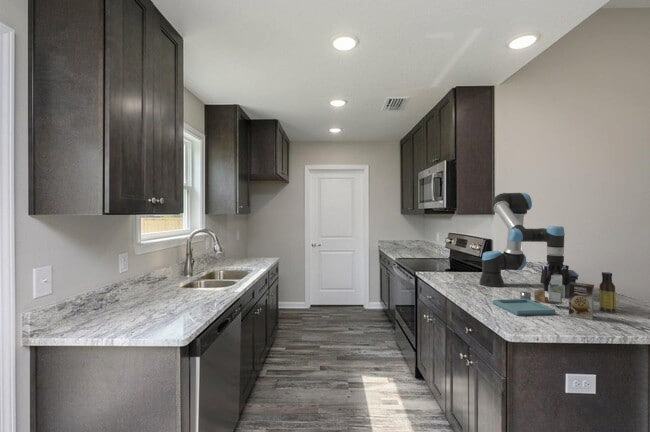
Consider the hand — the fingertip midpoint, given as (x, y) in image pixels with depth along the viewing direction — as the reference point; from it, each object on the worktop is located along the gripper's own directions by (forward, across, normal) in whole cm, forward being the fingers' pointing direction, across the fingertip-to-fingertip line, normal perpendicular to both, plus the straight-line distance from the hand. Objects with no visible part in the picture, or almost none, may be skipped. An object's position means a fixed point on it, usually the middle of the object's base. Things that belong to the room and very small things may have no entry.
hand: (554, 296), depth 172 cm
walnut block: (+6, +2, +11) cm, 12 cm away
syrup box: (+2, 0, 0) cm, 2 cm away
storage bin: (+6, +23, +23) cm, 33 cm away
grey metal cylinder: (+6, -8, +12) cm, 15 cm away
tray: (+5, -20, -2) cm, 21 cm away
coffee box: (+5, 0, -16) cm, 17 cm away
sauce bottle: (+5, +21, -9) cm, 24 cm away
